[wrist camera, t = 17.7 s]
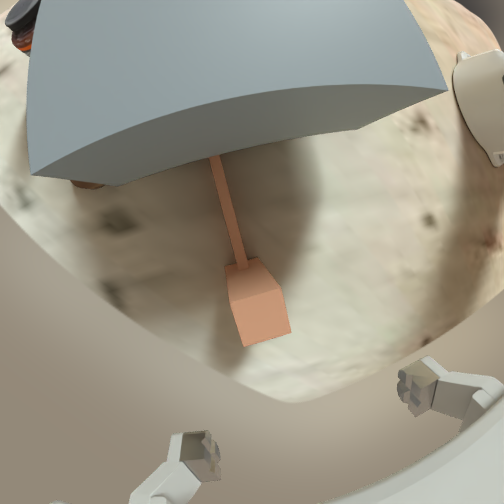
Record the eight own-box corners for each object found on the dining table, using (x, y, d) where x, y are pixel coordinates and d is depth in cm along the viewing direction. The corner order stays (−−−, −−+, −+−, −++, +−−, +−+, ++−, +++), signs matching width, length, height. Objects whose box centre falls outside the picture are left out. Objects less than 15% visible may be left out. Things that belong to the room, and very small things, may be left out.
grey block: (295, 37, 21) (355, -60, 6) (332, 141, 23) (448, 90, 8) (117, 76, 19) (45, -14, 5) (137, 189, 22) (30, 175, 7)
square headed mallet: (230, 151, 22) (238, 120, 13) (265, 288, 25) (291, 332, 16) (195, 160, 22) (183, 134, 13) (233, 297, 24) (243, 347, 16)
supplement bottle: (96, 26, 17) (57, -30, 6) (97, 61, 19) (48, 4, 7) (52, 49, 17) (3, 6, 6) (51, 86, 18) (-10, 48, 7)
